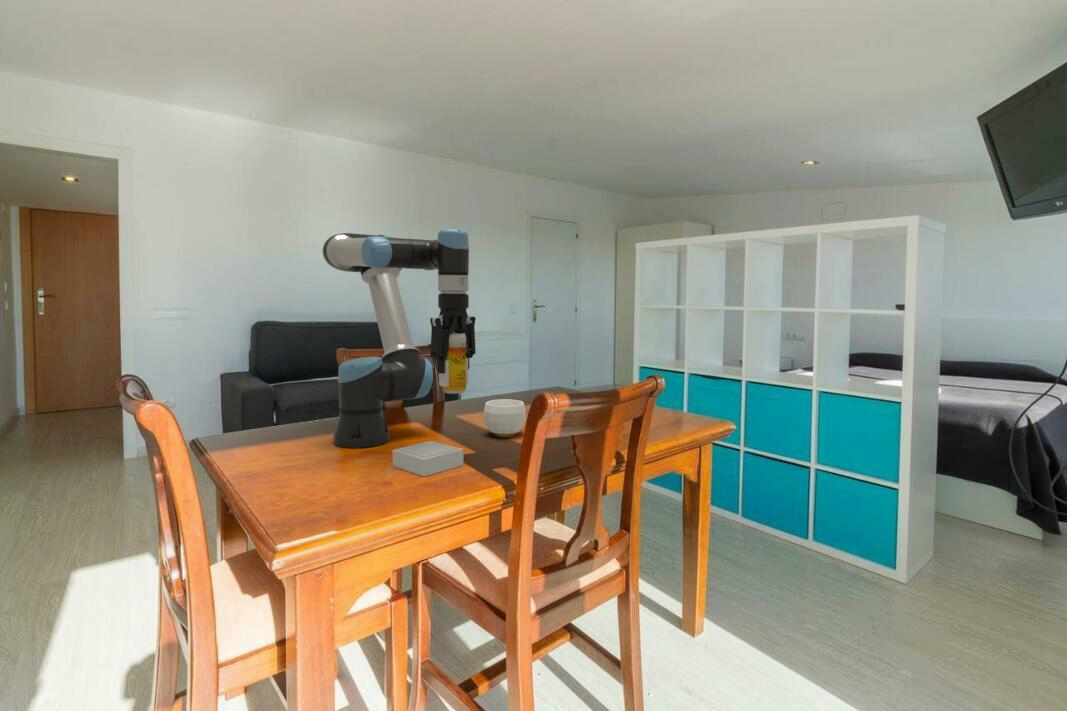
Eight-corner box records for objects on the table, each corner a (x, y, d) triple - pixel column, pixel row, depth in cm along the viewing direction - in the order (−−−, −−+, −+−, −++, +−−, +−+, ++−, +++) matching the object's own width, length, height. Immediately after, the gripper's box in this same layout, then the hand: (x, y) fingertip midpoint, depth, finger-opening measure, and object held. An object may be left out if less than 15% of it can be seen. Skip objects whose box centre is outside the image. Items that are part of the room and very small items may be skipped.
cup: (477, 437, 169) (477, 405, 168) (493, 428, 180) (493, 397, 179) (517, 441, 165) (517, 408, 164) (531, 431, 177) (531, 400, 175)
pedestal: (392, 466, 141) (392, 448, 140) (432, 455, 150) (431, 439, 149) (424, 476, 133) (423, 458, 132) (463, 465, 142) (463, 448, 141)
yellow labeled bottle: (462, 394, 144) (462, 334, 142) (438, 393, 145) (438, 333, 143) (468, 390, 150) (468, 332, 148) (446, 389, 151) (445, 331, 149)
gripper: (435, 292, 135) (435, 391, 138) (490, 293, 150) (490, 381, 152) (413, 292, 140) (414, 387, 142) (469, 292, 154) (469, 378, 157)
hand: (453, 384), depth 147 cm, fingers closed on yellow labeled bottle, 6 cm apart
